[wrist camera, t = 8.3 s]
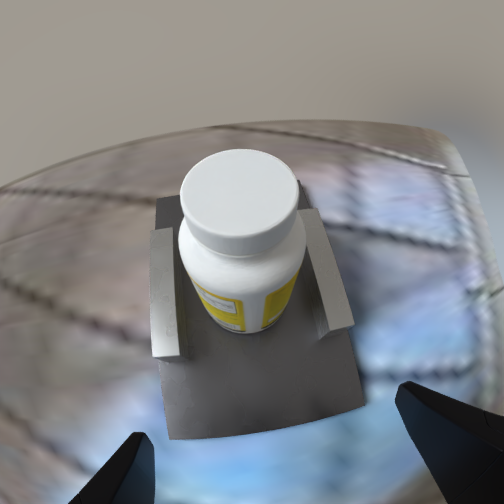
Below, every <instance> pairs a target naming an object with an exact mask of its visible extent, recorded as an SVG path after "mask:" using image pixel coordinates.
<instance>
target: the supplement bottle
mask: <svg viewBox="0 0 504 504" xmlns="http://www.w3.org/2000/svg"><path fill="white" fill-rule="evenodd" d="M180 200H181V206H182V210H183V213H184V218H183V221H182V223H181V226H180V230H179V238H178V242H179V250H180V255H181V258H182V261H183V264H184V267H185V269H186V271H187V273H188V275H189V277H190V279H191V281H192V283H193V285H194V287H195V289H196V291H197V293H198V295H199V297H200V299H201V301H202V303H203V304H204V306H205V308H206V310H207V312H208V314H209V315H210V316H211V317H212V319H213V320H214V321H215V322H216V323H218V324H219V325H220V326H222V327H223V328H225V329H227V330H230V331H232V332H236V333H255V332H259V331H262V330H264V329H266V328H268V327H270V326H271V325H273V324H274V323H275V322H276V321H277V320H278V319H279V318H280V317H281V315H282V314H283V312H284V310H285V308H286V306H287V304H288V301H289V298H290V295H291V292H292V289H293V287H294V284H295V281H296V278H297V275H298V273H299V270H300V267H301V264H302V261H303V258H304V254H305V248H306V231H305V227H304V223H303V221H302V218H301V216H300V214H299V213H298V211H297V207H298V201H299V185H298V182H297V179H296V177H295V175H294V173H293V172H292V170H291V169H290V168H289V167H288V166H287V165H286V164H285V163H284V162H282V161H281V160H280V159H278V158H276V157H274V156H272V155H270V154H267V153H264V152H261V151H257V150H250V149H234V150H227V151H222V152H219V153H216V154H213V155H211V156H209V157H207V158H205V159H203V160H202V161H200V162H199V163H197V164H196V165H195V166H194V167H193V168H192V169H191V170H190V171H189V173H188V174H187V175H186V177H185V179H184V181H183V184H182V186H181V191H180Z"/></svg>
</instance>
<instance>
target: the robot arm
mask: <svg viewBox="0 0 504 504" xmlns="http://www.w3.org/2000/svg"><path fill="white" fill-rule="evenodd" d="M395 404H396V406H397V408H398V411H399V413H400V415H401V417H402V420H403V422H404V424H405V427H406V429H407V431H408V433H409V435H410V437H411V439H412V441H413V442H414V444H415V446H416V447H417V449H418V451H419V453H420V454H421V456H422V458H423V460H424V461H425V463H426V465H427V467H428V468H429V470H430V472H431V474H432V476H433V477H434V479H435V481H436V483H437V485H438V487H439V488H440V490H441V492H442V494H443V496H444V498H445V500H446V502H447V504H504V416H500V415H497V414H494V413H490V412H488V411H485V410H482V409H479V408H476V407H474V406H471V405H468V404H466V403H463V402H461V401H458V400H455V399H453V398H450V397H448V396H445V395H443V394H440V393H438V392H436V391H433V390H431V389H428V388H426V387H423V386H421V385H419V384H416V383H414V382H412V381H407V382H404V383H402V384H400V385H399V387H398V391H397V394H396V397H395ZM154 497H155V459H154V446H153V444H152V443H151V441H150V440H149V438H148V436H147V435H146V434H145V433H144V432H133V433H132V434H131V435H130V436H129V437H128V438H127V440H126V441H125V442H124V443H123V444H122V445H121V446H120V447H119V449H118V450H117V451H116V452H115V453H114V454H113V455H112V456H111V458H110V459H109V460H108V461H107V462H106V463H105V464H104V465H103V467H102V468H101V469H100V470H99V471H98V472H97V473H96V474H95V475H94V476H93V478H92V479H91V480H90V481H89V482H88V483H87V484H86V485H85V486H84V487H83V488H82V490H81V491H80V492H79V494H77V495H76V496H75V497H74V498H73V499H72V500H71V501H70V502H69V503H68V504H154Z"/></svg>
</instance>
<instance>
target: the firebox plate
mask: <svg viewBox="0 0 504 504" xmlns="http://www.w3.org/2000/svg"><path fill="white" fill-rule="evenodd" d="M297 182H298V185H299V201H298V207H297V211H298V213H299V214H300V216H301V218H302V221H303V223H304V227H305V231H306V248H305V254H304V258H303V261H302V264H301V267H300V270H299V273H298V275H297V278H296V281H295V284H294V287H293V289H292V292H291V295H290V298H289V301H288V304H287V306H286V308H285V310H284V312H283V314H282V315H281V317H280V318H279V319H278V320H277V321H276V322H275V323H274V324H273V325H271V326H270V327H268V328H266V329H264V330H262V331H259V332H255V333H236V332H232V331H230V330H227V329H225V328H223V327H222V326H220V325H219V324H218V323H216V322H215V321H214V320H213V319H212V317H211V316H210V315H209V314H208V312H207V310H206V308H205V306H204V304H203V303H202V301H201V299H200V297H199V295H198V293H197V291H196V289H195V287H194V285H193V283H192V281H191V279H190V277H189V275H188V273H187V271H186V269H185V267H184V264H183V261H182V258H181V255H180V250H179V242H178V238H179V230H180V226H181V223H182V221H183V218H184V213H183V210H182V206H181V200H180V195H176V196H170V197H164V198H159V199H157V205H156V224H155V230H152V231H151V237H150V319H151V338H152V353H153V357H154V358H156V359H159V369H160V379H161V388H162V396H163V403H164V410H165V417H166V423H167V429H168V435H169V440H180V439H204V438H217V437H227V436H236V435H244V434H251V433H258V432H264V431H270V430H275V429H281V428H286V427H290V426H295V425H299V424H304V423H308V422H312V421H316V420H320V419H323V418H327V417H330V416H334V415H337V414H340V413H344V412H347V411H350V410H353V409H356V408H359V407H362V406H365V403H364V398H363V393H362V388H361V384H360V379H359V375H358V370H357V366H356V362H355V357H354V353H353V349H352V345H351V341H350V337H349V333H348V329H349V328H351V327H352V326H354V325H355V323H354V319H353V315H352V312H351V308H350V305H349V302H348V298H347V295H346V291H345V288H344V285H343V282H342V279H341V275H340V272H339V269H338V266H337V263H336V260H335V257H334V254H333V251H332V248H331V245H330V242H329V239H328V236H327V234H326V231H325V228H324V225H323V222H322V220H321V217H320V214H319V212H318V209H317V208H312V209H310V208H309V205H308V202H307V199H306V197H305V194H304V191H303V189H302V186H301V183H300V181H299V180H297Z"/></svg>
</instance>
